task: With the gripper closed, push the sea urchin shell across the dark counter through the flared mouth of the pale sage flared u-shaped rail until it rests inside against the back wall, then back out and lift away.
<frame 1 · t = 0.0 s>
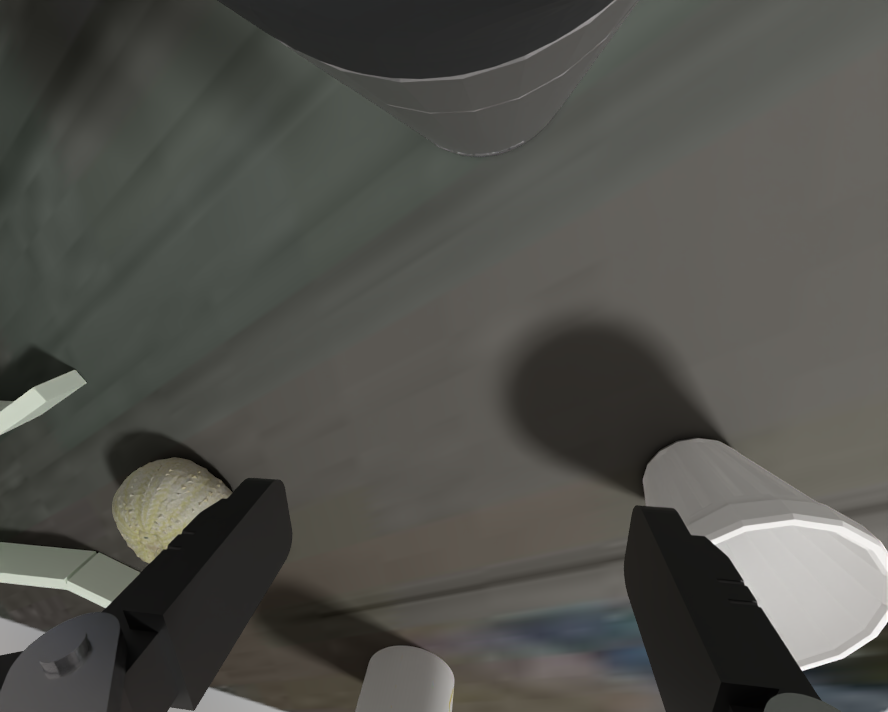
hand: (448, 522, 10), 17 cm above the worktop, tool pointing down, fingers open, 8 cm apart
cup 2: (689, 473, 28), on the worktop
cup: (411, 673, 39), on the worktop
sea urchin shell: (196, 494, 35), on the worktop
flared u-shaped rail: (12, 484, 36), on the worktop
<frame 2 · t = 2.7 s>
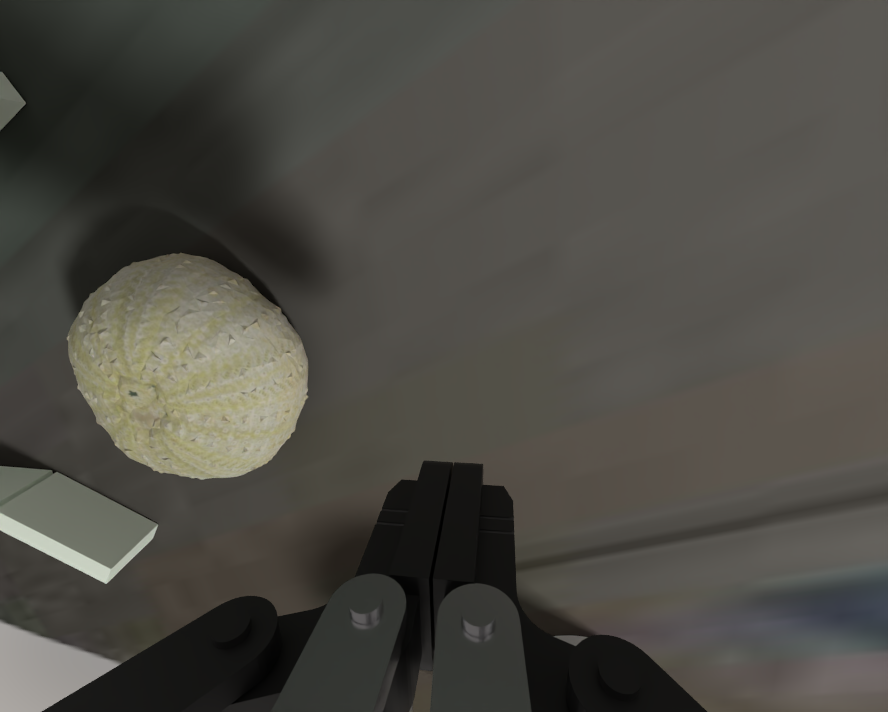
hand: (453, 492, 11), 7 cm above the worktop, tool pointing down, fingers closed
sea urchin shell: (228, 353, 19), on the worktop
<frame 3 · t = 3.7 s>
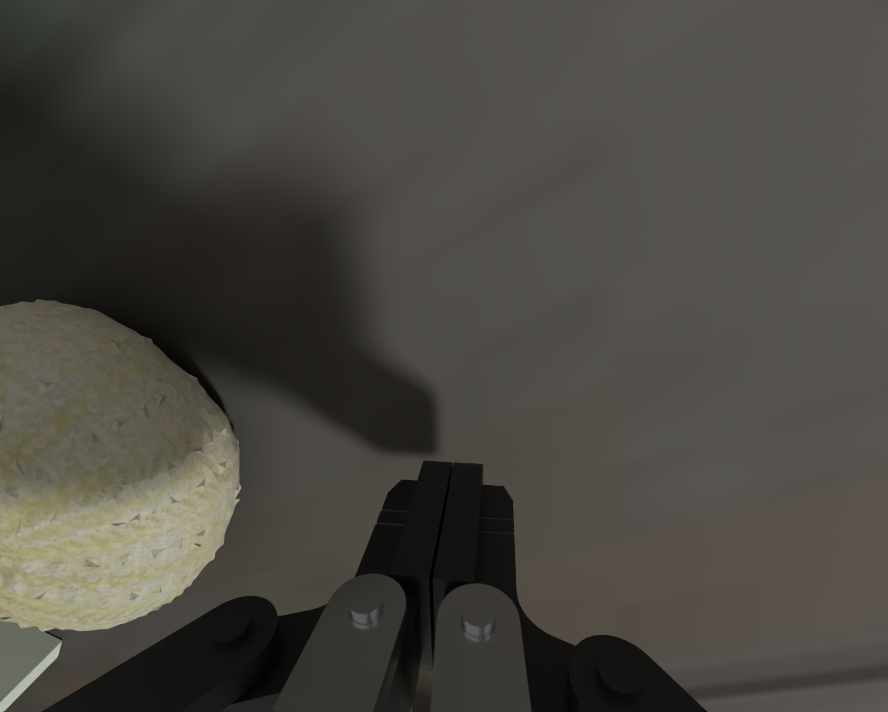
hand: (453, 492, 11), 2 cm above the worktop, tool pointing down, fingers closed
sea urchin shell: (135, 429, 14), on the worktop
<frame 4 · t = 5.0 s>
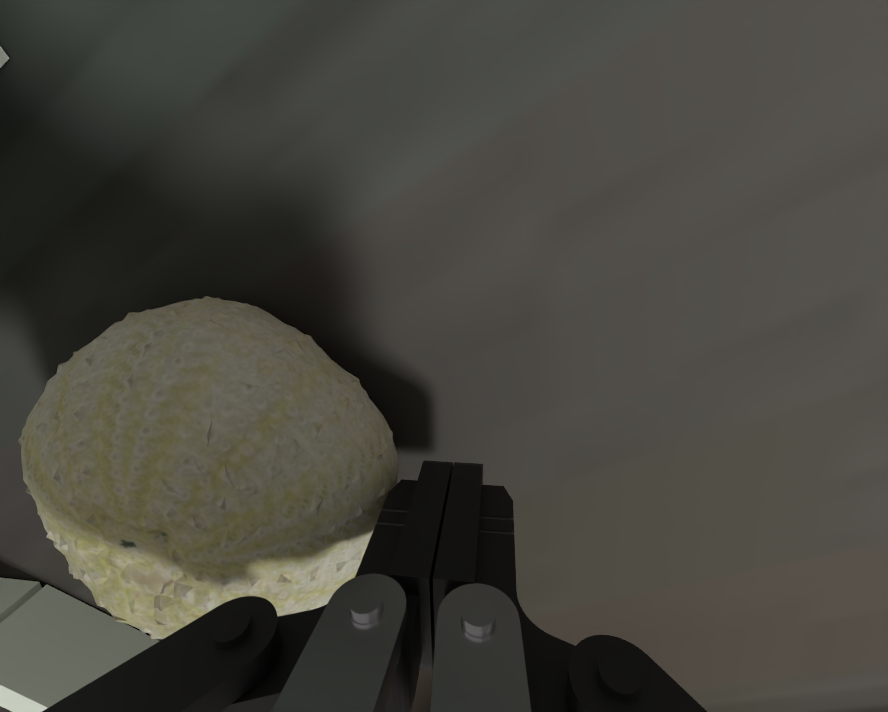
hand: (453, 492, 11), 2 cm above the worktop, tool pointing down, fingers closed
sea urchin shell: (267, 433, 13), on the worktop, touching gripper
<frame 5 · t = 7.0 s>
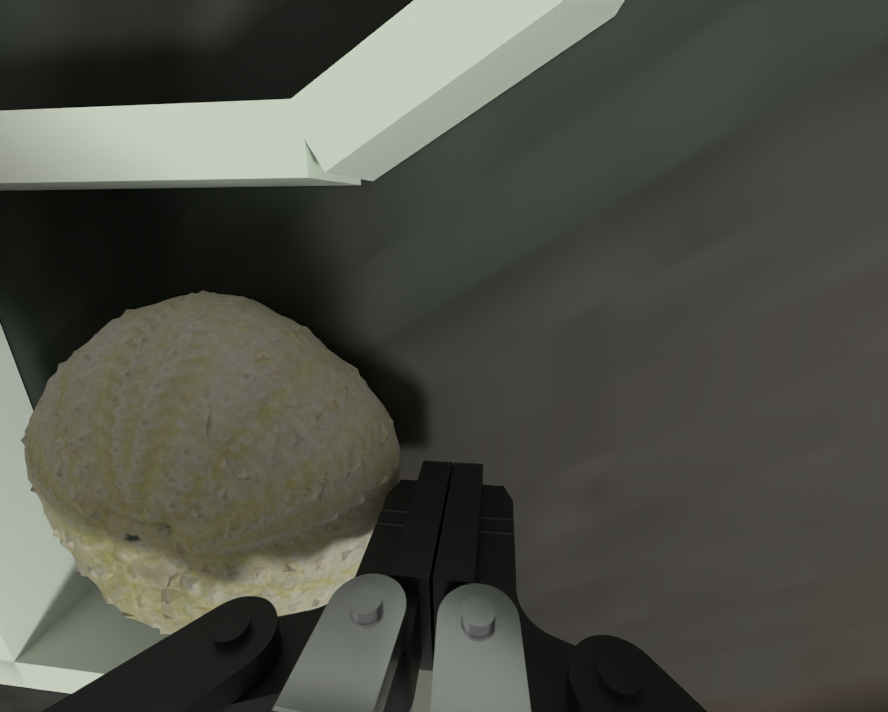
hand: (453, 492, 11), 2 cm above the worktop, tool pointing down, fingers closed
sea urchin shell: (270, 429, 13), on the worktop, touching gripper
flared u-shaped rail: (206, 430, 13), on the worktop
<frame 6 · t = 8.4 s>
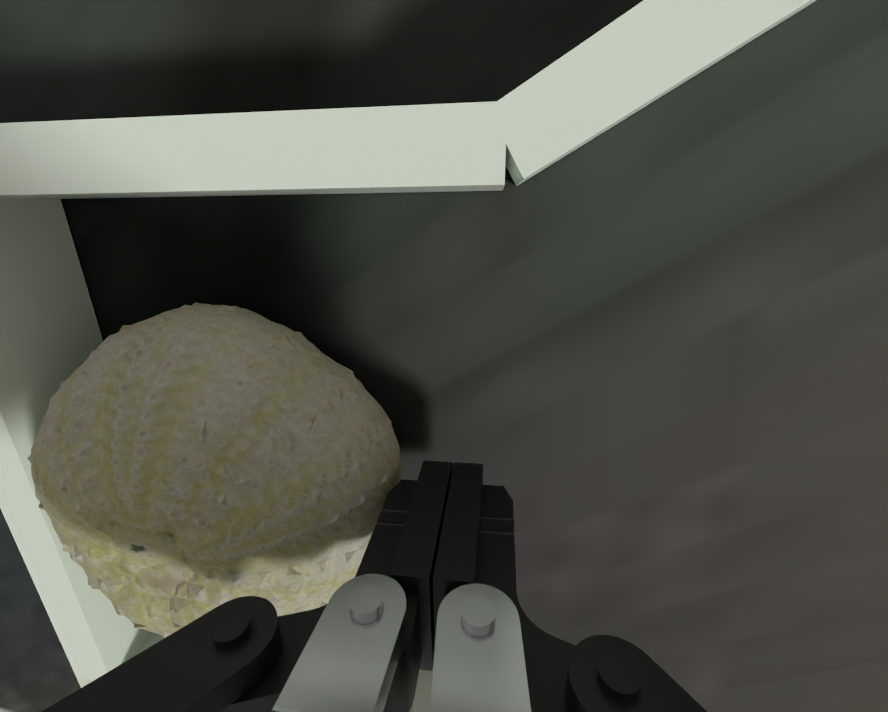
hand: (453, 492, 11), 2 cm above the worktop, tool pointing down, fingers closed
sea urchin shell: (272, 436, 13), on the worktop
flared u-shaped rail: (311, 443, 13), on the worktop
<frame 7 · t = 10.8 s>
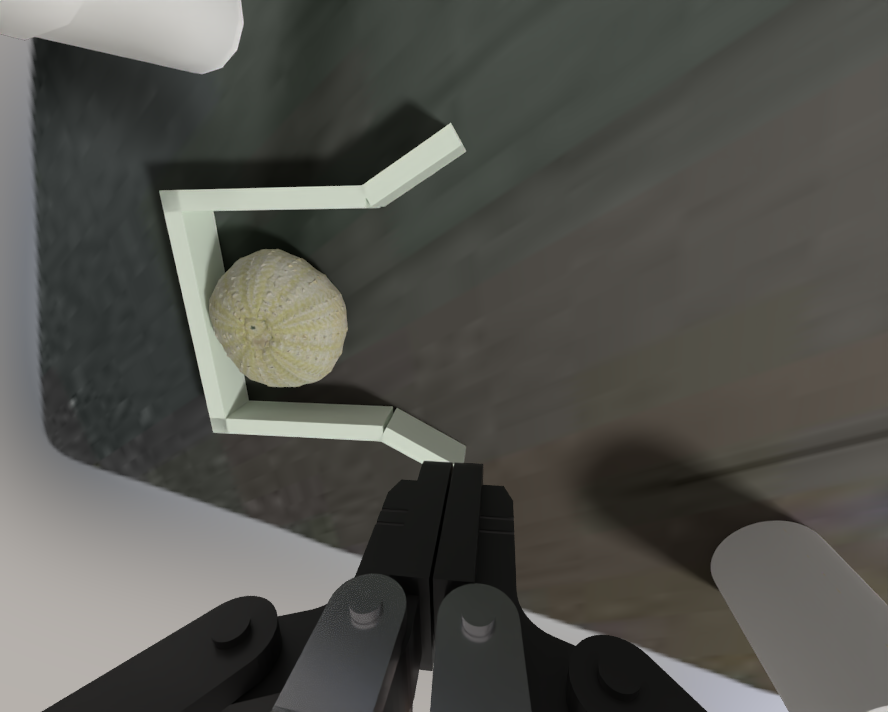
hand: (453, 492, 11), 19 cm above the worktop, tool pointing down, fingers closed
cup: (767, 562, 32), on the worktop
sea urchin shell: (294, 313, 30), on the worktop
foam cup: (194, 12, 25), on the worktop
flared u-shaped rail: (311, 314, 30), on the worktop
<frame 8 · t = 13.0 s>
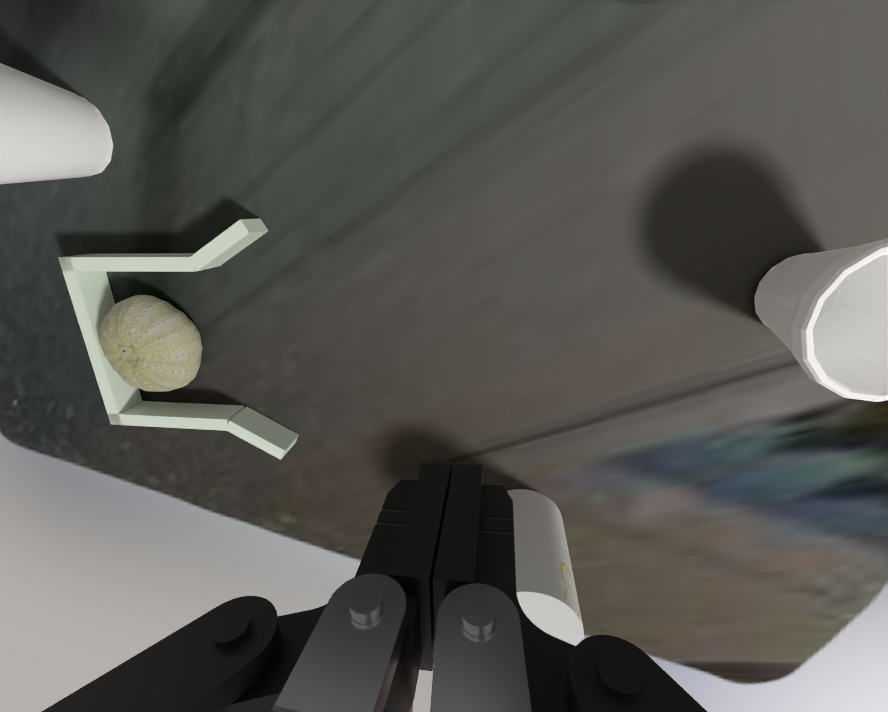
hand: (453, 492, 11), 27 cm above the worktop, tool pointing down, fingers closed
cup 2: (793, 292, 33), on the worktop
cup: (521, 520, 44), on the worktop
sea urchin shell: (169, 337, 42), on the worktop
foam cup: (80, 136, 36), on the worktop
flared u-shaped rail: (179, 338, 41), on the worktop
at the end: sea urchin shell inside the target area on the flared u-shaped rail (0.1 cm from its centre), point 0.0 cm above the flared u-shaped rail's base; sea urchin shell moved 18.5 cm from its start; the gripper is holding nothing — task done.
